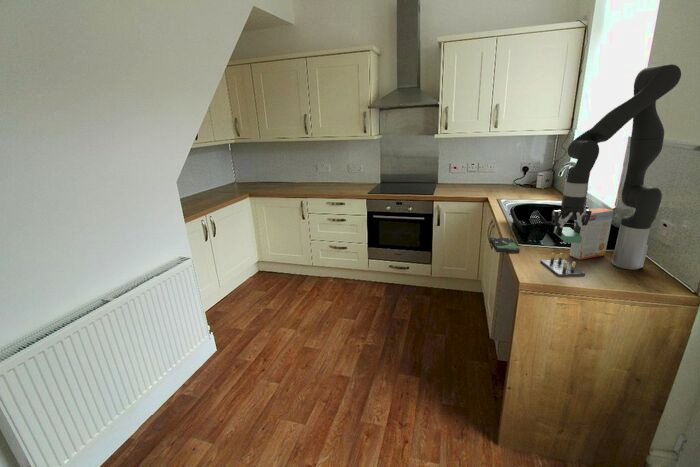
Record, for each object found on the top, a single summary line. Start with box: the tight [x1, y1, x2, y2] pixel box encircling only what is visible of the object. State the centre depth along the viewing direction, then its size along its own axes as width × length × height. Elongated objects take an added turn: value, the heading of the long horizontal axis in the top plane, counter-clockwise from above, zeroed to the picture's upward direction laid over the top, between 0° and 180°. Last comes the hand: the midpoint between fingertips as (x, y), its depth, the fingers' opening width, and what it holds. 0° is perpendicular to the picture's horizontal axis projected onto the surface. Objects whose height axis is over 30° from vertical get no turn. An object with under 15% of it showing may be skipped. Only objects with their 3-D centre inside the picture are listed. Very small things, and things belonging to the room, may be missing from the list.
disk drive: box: [489, 237, 520, 254], centre depth 164 cm, size 10×3×15 cm
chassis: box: [540, 252, 586, 278], centre depth 138 cm, size 10×14×5 cm
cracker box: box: [569, 207, 615, 261], centre depth 147 cm, size 14×6×21 cm, turn 105°
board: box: [553, 226, 582, 244], centre depth 134 cm, size 12×6×2 cm, turn 169°
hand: (567, 235), depth 134 cm, fingers closed on board, 6 cm apart
